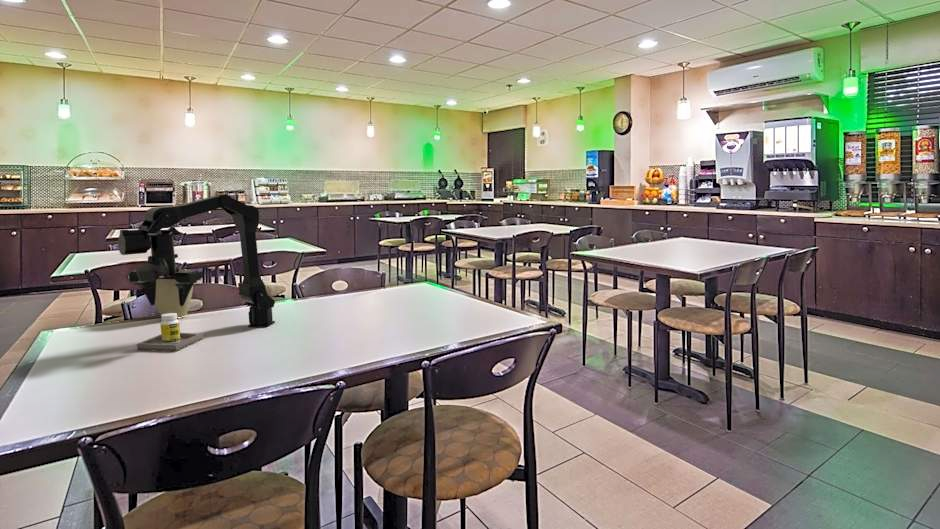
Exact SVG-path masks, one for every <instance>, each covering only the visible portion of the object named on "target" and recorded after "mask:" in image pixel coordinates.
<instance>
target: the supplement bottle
mask: <svg viewBox="0 0 940 529" xmlns="http://www.w3.org/2000/svg"><path fill="white" fill-rule="evenodd" d="M160 318H161V322H160V335H161V337H162V344H175V343H178V342H180V333H181V332H180V331H181V330H180V321H179V319H177V313H167V314H163V315H160Z"/></svg>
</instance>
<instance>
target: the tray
mask: <svg viewBox="0 0 940 529" xmlns="http://www.w3.org/2000/svg"><path fill="white" fill-rule="evenodd" d="M203 337H204V335H203V333H196V332H180V342H178V343H175V344H162V337H161V334H158V335H156V336H154V337H151V338H149V339H146V340H143V341H141V342H138V343H136V348H137V351H149V350H167V351H166V352H174V351H177V350H179V351H181V350H183V349H185V348H187V347H186V346H188V345H190V346H192V345H194V344H196V343H198V342H197V341H199V342H201V341H203V340H204V338H203ZM202 339H203V340H202ZM200 340H201V341H200ZM195 342H196V343H195ZM193 343H194V344H193ZM191 344H192V345H191ZM184 347H185V348H184ZM188 347H189V346H188ZM182 348H183V349H182ZM180 349H181V350H180ZM177 352H178V351H177Z"/></svg>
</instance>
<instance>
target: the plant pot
mask: <svg viewBox="0 0 940 529" xmlns="http://www.w3.org/2000/svg"><path fill="white" fill-rule="evenodd" d="M185 270H186V269H179V272H181V271H185ZM176 273H177V272H176ZM177 283H178V282H177V281H176V280H175V279H157V280H156V297H155V304H154V306H155V307H156V309H157V311H158V313H159V315H160V316H161V315H163V314H167V313H177V317H182V316H185V315H186V316H187V315H188V312H189V308H190V304H191V300H192V296H193V289H194V285H193V286H192V288H191V290H190V292H189V294H188V296H187V299H186V301H185V304H184V306H180V302H179V291H178V288H177V286H176V285H175V284H177Z"/></svg>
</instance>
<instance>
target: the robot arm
mask: <svg viewBox="0 0 940 529" xmlns="http://www.w3.org/2000/svg"><path fill="white" fill-rule="evenodd" d="M219 209H222V211H224V212H225V213H226V214H228V215H230V216H232V220H233V223H234V226H235V228H236V229H237V232H238V233H239V234H238V235H239V239H240V240H239V242H240V248H241V258H242V269H243V280H242V282H238V283H237V285H238V291H239V292H238V295H239V296H240V298H241V299H242V301H244V302H245V303H246V306H247V307H249V309H248V310H249V311H248V322H249V324H247V327H249V328H268V327H269V326H271V325H273V324H275V323H276V321H275V320H273V308H274V306H275V304H276V300H274V299H273V298H272V297H271V296H269V294H268V291H267V288H266V287H267V286H266V284H265V283H264V281H263V278H262V277H261V273H260V265H259V264H260V263H259V254H258V244H257V235H256V233H257V231H258V227H259V225H260V211H259V208H257V207H256V206H254V205H252V204H251V205H250V204H246V203H244V202H242V201H240V200H238V199H236V198H233V197H232V196H230V195H228V194H227V193H216V194H215V195H213V196H208V197H205V198H201V199H198V200H193V201H190V202H185V203H183V204H179V205H166V206H165V205H164V206H155V207H151V208H148V210H147V211H146V212H145V217H144V218H145V219H144V220H143V221H142V223H141V224H140V225H139V227H138V229H120V230H119V236H118V241H117V248H118V251H119V253H120V255H122V256H126V255H127V256H129V255H140V254H146V253H147V252H148V251H150V252H151V253H150V254H151V255H149V256H148V257H147V263H145V264H143V265H141V266H140V267H138V268H137V269H136V270H132V271H130V272H129V274H128V281H129V282H132V284H133V285H136V286H138V287H139V288H140V289H141V290H142V291H143V294H144V295H145V296H146V298H147V300H148V302H149V305H151V306H155V297H156V280H157V279H175V280H176V281H177V282H178V283H177V284H175V285H176V286H177V288H178V291H179V302H180V306H184V304H185V301H186V299H187V296H188V294H189V292H190V290H191V288H192V286H193V287H194V285H195V284H197V283H198V281H200V280H201V279H202V277H201V272H200V271H199V270H197V269H195V270H193V269H184V270H185V271H181V272H179V270H180V269H179V267H176V258H179V254H177V253H175V244H174V236H181V235H182V232H181V231H179V230H178V229H177V228H176V227H175V225H177V224H179V223H180V222H182V221H184V220H186V219H187V218H190V217H193V216H197V215H201V214H205V213H208V212H212V211H215V210H219ZM176 272H177V273H176Z"/></svg>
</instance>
